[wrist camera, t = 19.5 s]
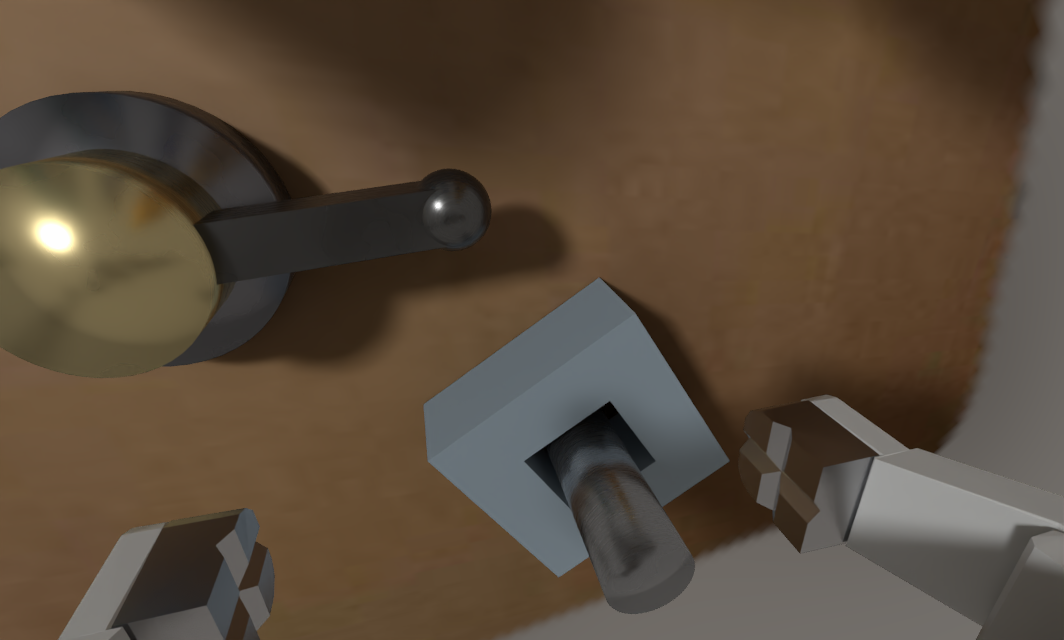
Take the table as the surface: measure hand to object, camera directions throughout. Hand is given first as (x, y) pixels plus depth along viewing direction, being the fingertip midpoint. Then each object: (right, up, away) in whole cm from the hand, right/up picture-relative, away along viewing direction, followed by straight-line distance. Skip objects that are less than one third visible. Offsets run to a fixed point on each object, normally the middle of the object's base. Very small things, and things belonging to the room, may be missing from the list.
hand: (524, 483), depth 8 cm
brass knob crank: (-9, +6, +8) cm, 13 cm away
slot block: (+2, -2, +17) cm, 18 cm away
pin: (+2, -2, +17) cm, 18 cm away
